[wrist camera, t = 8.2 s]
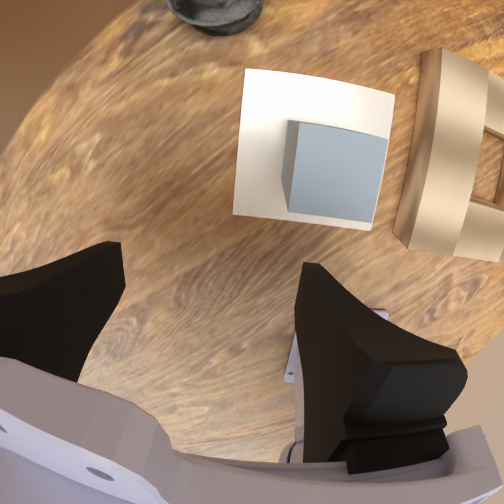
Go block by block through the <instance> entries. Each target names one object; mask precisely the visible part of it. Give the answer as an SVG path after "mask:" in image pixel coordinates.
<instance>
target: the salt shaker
mask: <svg viewBox="0 0 504 504" xmlns="http://www.w3.org/2000/svg"><path fill="white" fill-rule="evenodd" d="M166 4H167V5H168V7H169V9H170V11H171V12H172V13H173V14H174V15H176V16H177V17H178V18H179V19H181V20H183V21H185V22H187V23H189V24H191V25H192V26H193V27H194V28H195V29H196V30H198V31H200V32H202V33H204V34H208V35H212V36H227V35H232V34H236V33H238V32H241V31H243V30H245V29H247V28H248V27H249V26H251V25H252V24H253V23H254V22H255V21H256V20H257V18H258V17H259V16H260V13H261V11H262V9H263V0H166Z"/></svg>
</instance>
